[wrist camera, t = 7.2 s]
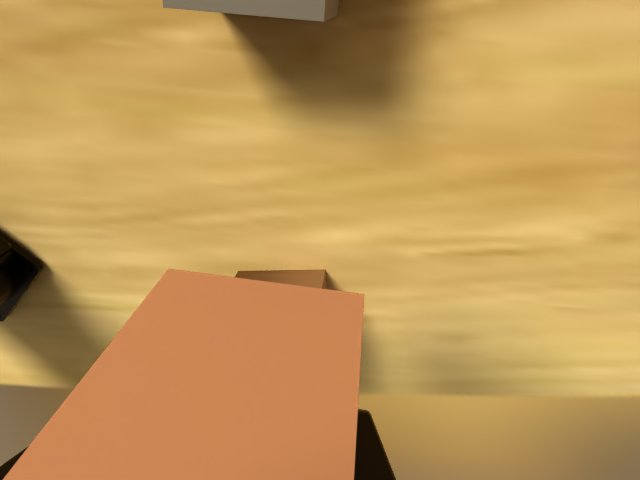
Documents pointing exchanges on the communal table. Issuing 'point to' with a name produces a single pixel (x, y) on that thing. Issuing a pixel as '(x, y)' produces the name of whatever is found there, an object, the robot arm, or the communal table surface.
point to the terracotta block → (214, 389)
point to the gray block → (264, 8)
